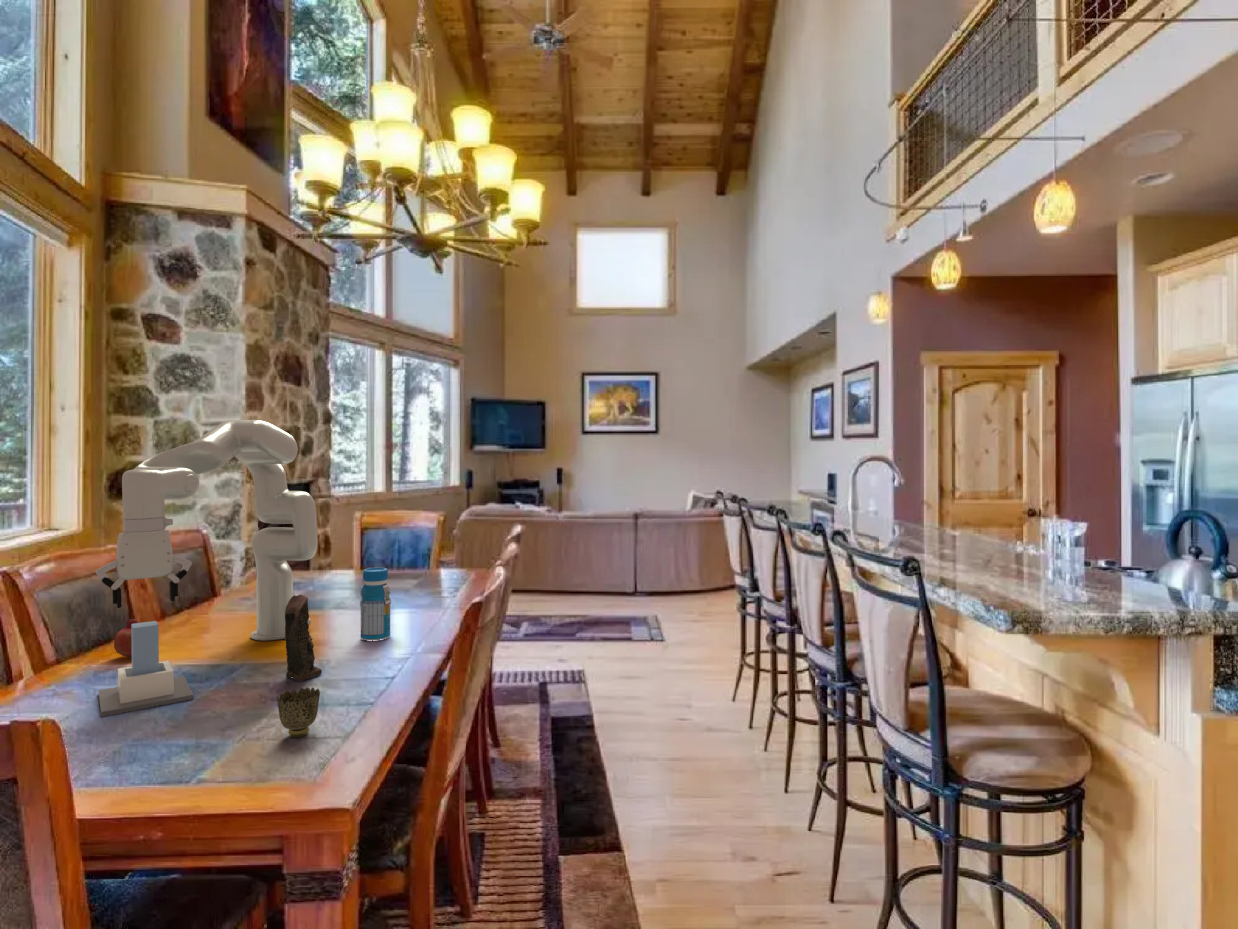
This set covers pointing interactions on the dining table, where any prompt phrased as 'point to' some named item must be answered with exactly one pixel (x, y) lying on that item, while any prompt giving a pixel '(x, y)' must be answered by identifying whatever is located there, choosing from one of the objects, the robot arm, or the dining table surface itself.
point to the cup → (298, 710)
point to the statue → (299, 640)
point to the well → (144, 690)
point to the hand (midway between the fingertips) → (146, 603)
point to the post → (145, 648)
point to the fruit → (124, 640)
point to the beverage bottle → (375, 605)
